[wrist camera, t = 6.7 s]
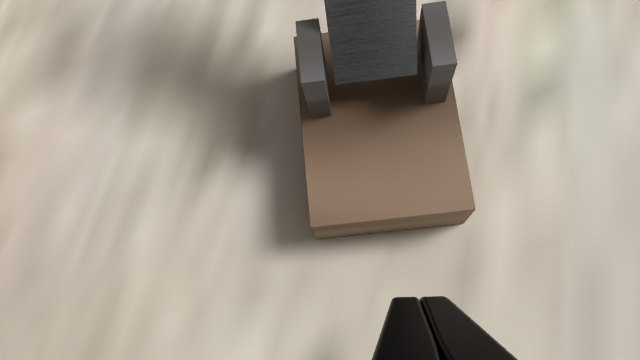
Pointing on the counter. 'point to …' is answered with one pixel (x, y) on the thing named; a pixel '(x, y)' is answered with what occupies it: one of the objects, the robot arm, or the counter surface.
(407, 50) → the nutcracker lever
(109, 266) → the counter surface
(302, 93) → the stand
